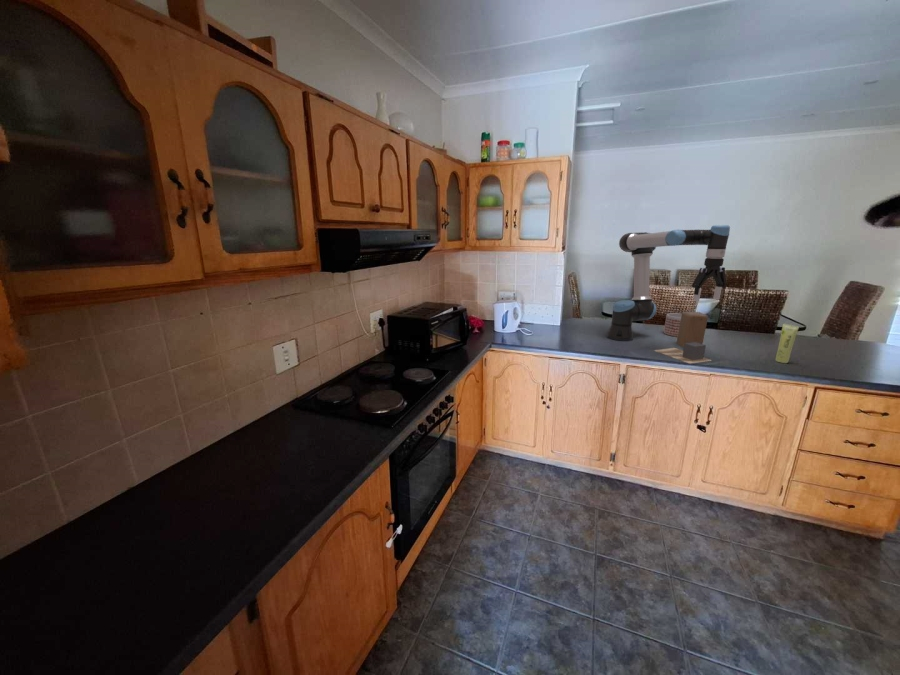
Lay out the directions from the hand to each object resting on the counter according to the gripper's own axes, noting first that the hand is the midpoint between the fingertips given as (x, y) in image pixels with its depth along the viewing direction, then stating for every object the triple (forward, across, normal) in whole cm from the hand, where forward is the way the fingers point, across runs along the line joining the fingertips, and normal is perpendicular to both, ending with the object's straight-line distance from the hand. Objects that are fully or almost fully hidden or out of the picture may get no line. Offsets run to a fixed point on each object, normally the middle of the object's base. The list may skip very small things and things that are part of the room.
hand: (706, 300), depth 181 cm
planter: (+31, +28, +37) cm, 56 cm away
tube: (+31, +35, -19) cm, 50 cm away
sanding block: (+30, -7, -4) cm, 31 cm away
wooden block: (+31, +12, +14) cm, 36 cm away
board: (+31, -7, +2) cm, 32 cm away
